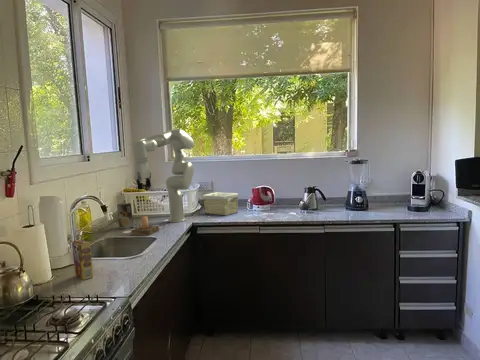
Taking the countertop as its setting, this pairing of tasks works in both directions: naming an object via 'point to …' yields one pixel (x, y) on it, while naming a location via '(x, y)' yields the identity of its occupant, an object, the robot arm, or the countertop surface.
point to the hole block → (145, 230)
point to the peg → (144, 222)
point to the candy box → (82, 259)
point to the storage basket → (221, 203)
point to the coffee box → (125, 215)
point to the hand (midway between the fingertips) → (144, 187)
